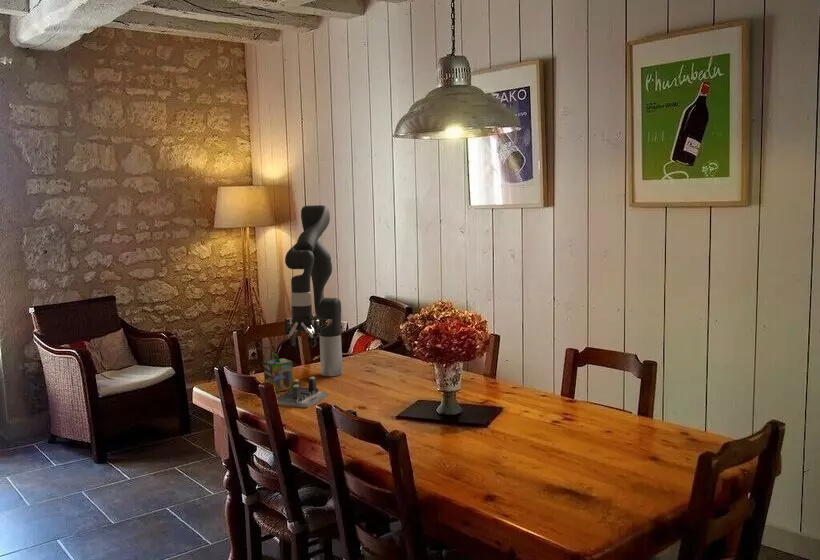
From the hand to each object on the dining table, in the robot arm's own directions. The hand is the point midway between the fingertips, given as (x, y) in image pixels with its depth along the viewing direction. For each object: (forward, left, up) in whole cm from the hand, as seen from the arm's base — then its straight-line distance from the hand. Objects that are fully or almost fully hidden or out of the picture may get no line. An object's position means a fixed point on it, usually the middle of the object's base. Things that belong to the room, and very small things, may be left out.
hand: (303, 346), depth 278 cm
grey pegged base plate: (-1, -3, -21) cm, 21 cm away
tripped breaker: (-1, -4, -19) cm, 20 cm away
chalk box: (-12, -19, -21) cm, 31 cm away
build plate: (+18, +28, -22) cm, 40 cm away
